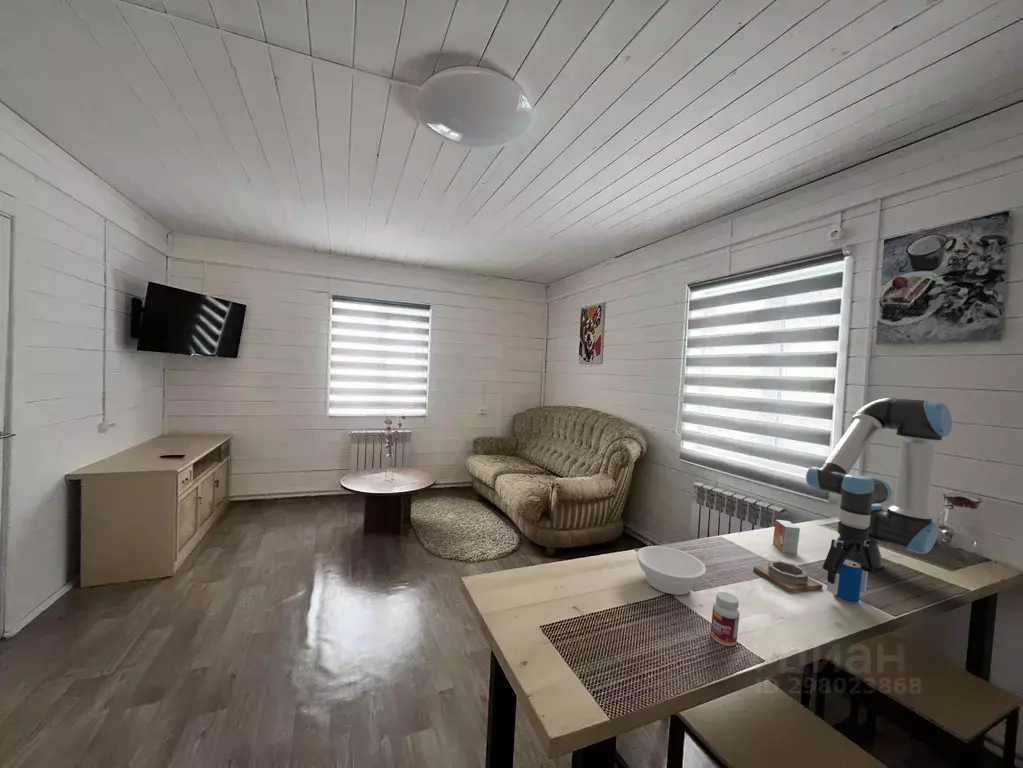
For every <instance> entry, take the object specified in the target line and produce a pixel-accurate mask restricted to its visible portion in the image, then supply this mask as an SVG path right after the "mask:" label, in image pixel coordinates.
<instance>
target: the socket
mask: <svg viewBox="0 0 1023 768" xmlns="http://www.w3.org/2000/svg"><path fill="white" fill-rule="evenodd" d="M753 572H755V573H757V574H758V575H759V576H761V577H763V578H765V579H766V580H767V581H769V582H771V583H772V584H774V585H776V586H777V587H779V588H781V589H783V590H784V591H786V592H787V593H797V592H809V591H818V590H823V584H822V583H819V582H818V581H817V580H814V579H812V578H811V577H809V575H808V572H807V570H806V569H804V568H802V567H800V566H799V565H796V564H794V563H791V562H786V561H783V560H779V559H778V560H768V564H767V565H760V566H757V565H755V566H753Z"/></svg>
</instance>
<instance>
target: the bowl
mask: <svg viewBox="0 0 1023 768" xmlns="http://www.w3.org/2000/svg"><path fill="white" fill-rule="evenodd" d="M636 558H637V562H638V564H639V567H640V569H641V571H643V572H644V575H645V579H646V581H647V583H648V584H649V585H650V586H651V587H652V588H654V589H657V590H658V591H660V592H662V593H665V594H666V593H667V594H671V595H679V596H680V595H687V594H689V593H690V592H691V590H692V589H693V586H695V585H696V584H698V583H700V582H701V579H703V577H704V575H705V574H706V572H707V570H706V569H707V568H706V566H705V564H704V563H703V562H702V561H701V560H700V559H699V558H697V557H695V556H693V555H692V554H690V553H689V552H685V551H682V550H679V549H676V548H672V547H668V546H667V547H666V546H661V545H660V546H659V545H655V546H654V545H651V546H650V545H649V546H644V547H641V548H639V549H638V550H637V551H636Z"/></svg>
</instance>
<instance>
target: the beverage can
mask: <svg viewBox="0 0 1023 768" xmlns="http://www.w3.org/2000/svg"><path fill="white" fill-rule="evenodd" d="M837 574H839V582H838V591H837V595H834V596H835V598H837V600H839V601H841V602H844V603H847V604H851V605H852V604H857V603H859V601H860V594H861V590H860V587H861V578H862V569H861V565H860V564H859V563H857V562H854V561H852V560H848V559H846V560H845V561H844V563H843V565H842V566H841V568H840V569H839V571H838V573H837Z"/></svg>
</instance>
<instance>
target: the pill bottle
mask: <svg viewBox="0 0 1023 768" xmlns="http://www.w3.org/2000/svg"><path fill="white" fill-rule="evenodd" d="M739 601H740V600H739V598H738V597H737V596H736V595H734V594H732V593H730V592H725V591H718V592H717V593H716V597H715V602H714V603H713V606H712V614H711V615H712V616H711V625H710V636H711V637H712V639H713V640H714V641H715V642H717V643H719V644H720V645H722V646H726V647H733V646H735V645H736V644H737V643H738V634H739V633H738V632H739V622H740V621H739V620H740V611H739V609H738V608H739Z"/></svg>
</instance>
